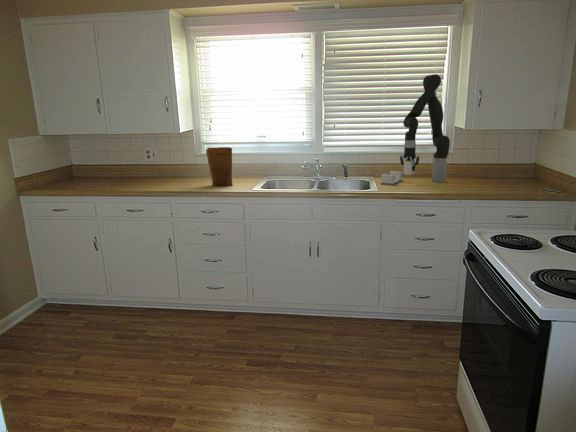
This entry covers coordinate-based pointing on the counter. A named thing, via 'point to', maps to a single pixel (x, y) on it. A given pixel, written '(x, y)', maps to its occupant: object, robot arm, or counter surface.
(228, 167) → the pancake mix bag
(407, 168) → the block
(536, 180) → the counter surface
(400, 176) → the rail
